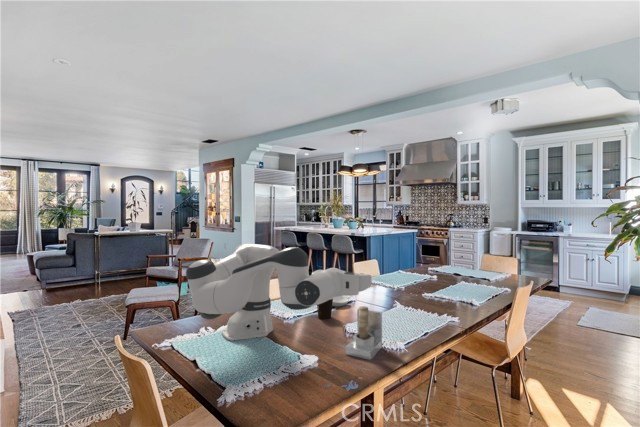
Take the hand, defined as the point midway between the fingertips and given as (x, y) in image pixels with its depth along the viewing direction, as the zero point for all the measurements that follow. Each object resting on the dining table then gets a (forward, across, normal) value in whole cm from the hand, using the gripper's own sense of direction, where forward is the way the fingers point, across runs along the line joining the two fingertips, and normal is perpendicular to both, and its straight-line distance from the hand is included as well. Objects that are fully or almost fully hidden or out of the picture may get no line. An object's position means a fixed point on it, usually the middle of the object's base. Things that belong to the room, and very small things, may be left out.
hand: (350, 274), depth 120 cm
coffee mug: (+42, -33, -32) cm, 62 cm away
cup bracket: (+12, 0, -32) cm, 34 cm away
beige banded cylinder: (+12, 0, -29) cm, 31 cm away
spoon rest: (+64, -41, -32) cm, 82 cm away
